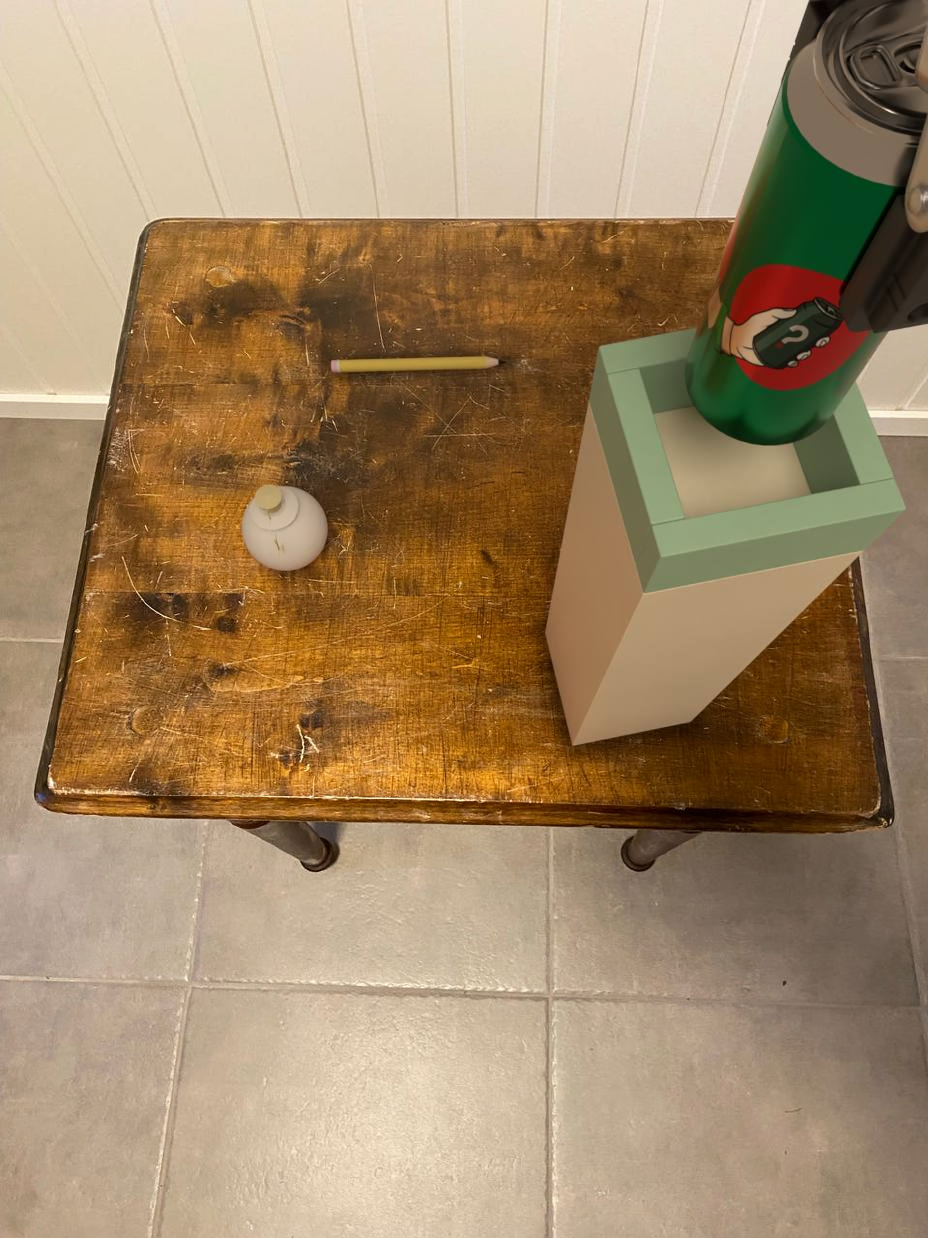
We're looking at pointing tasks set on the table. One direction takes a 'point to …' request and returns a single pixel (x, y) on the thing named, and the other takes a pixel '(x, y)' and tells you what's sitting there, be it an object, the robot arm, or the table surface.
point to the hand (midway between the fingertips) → (842, 221)
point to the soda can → (811, 228)
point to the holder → (694, 541)
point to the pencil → (414, 364)
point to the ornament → (284, 527)
